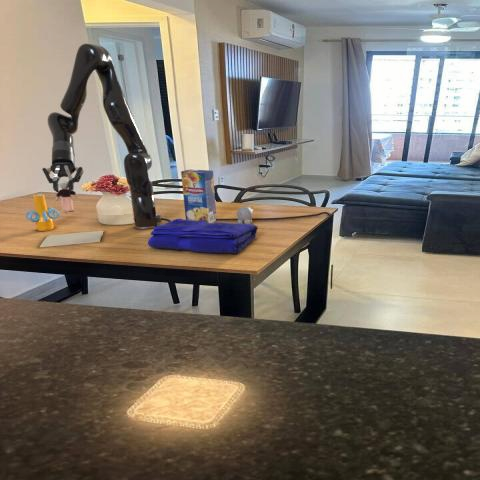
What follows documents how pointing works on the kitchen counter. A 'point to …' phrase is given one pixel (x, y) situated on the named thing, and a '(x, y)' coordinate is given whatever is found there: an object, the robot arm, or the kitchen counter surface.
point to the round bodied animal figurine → (245, 215)
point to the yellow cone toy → (42, 214)
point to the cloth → (72, 238)
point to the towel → (202, 236)
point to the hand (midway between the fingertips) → (63, 190)
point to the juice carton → (199, 195)
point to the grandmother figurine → (66, 197)
